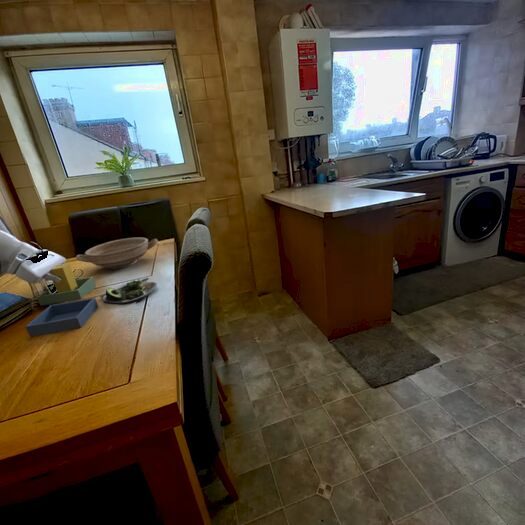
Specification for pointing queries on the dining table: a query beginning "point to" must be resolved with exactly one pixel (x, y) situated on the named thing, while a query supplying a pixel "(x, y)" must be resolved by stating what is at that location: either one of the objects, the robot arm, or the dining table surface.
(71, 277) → the yellow box
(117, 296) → the salad plate
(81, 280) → the green bin
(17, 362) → the dining table surface
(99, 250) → the ceramic bowl
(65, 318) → the blue bin
